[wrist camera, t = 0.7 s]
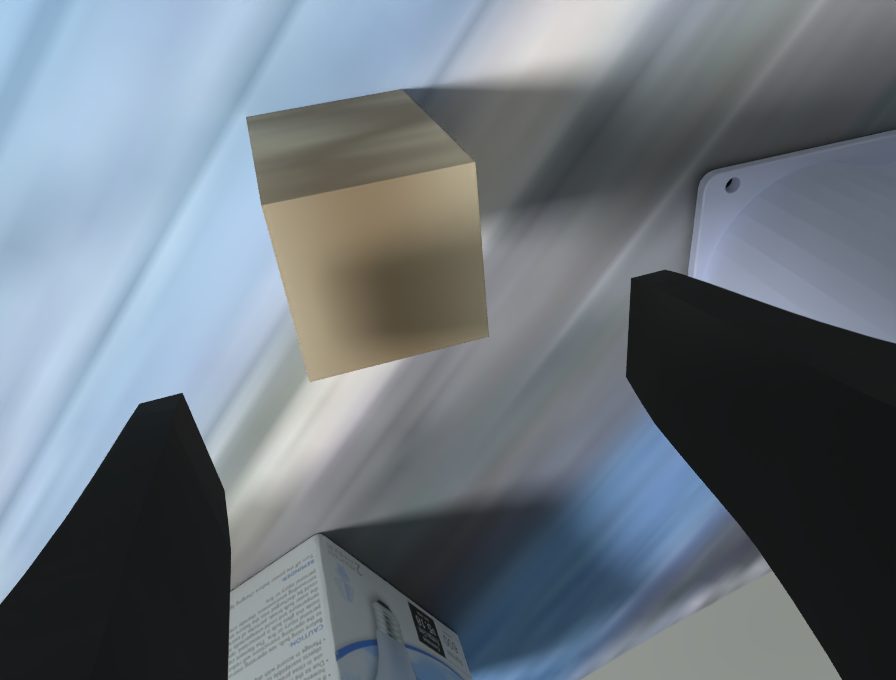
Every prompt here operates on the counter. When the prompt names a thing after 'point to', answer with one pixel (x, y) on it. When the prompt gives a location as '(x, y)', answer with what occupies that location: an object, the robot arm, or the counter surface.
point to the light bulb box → (334, 624)
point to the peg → (371, 230)
